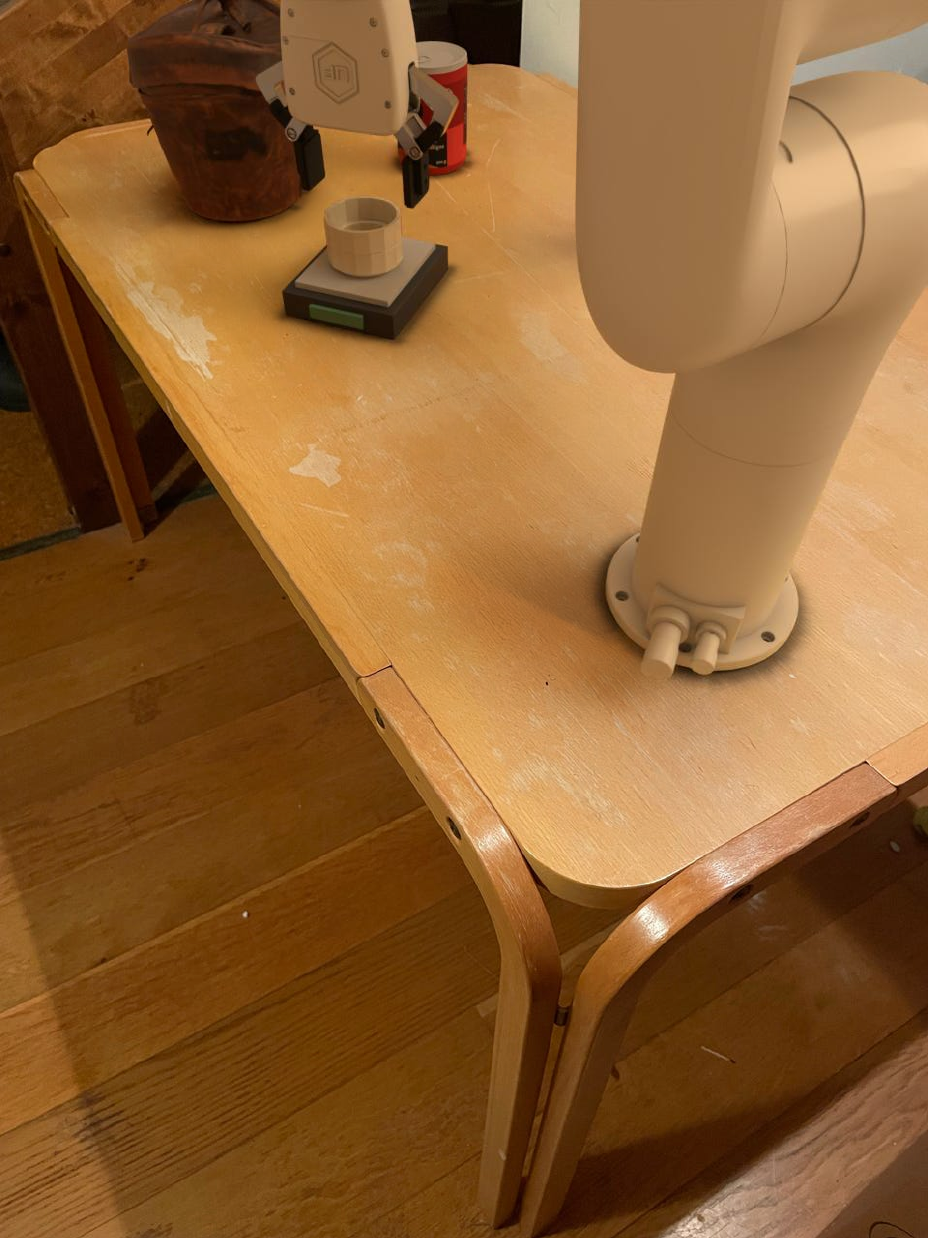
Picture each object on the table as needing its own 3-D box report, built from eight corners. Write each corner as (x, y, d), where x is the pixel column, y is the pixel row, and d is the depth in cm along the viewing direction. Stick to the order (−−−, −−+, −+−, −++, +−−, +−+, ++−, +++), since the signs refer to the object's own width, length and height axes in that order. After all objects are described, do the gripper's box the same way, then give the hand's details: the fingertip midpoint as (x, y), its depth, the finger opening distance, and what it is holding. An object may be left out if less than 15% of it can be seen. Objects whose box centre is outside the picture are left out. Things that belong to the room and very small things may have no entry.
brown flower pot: (278, 141, 106) (251, -42, 92) (360, 209, 95) (344, 14, 81) (133, 178, 99) (80, -12, 86) (203, 255, 89) (156, 52, 75)
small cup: (384, 286, 80) (381, 238, 76) (316, 272, 81) (310, 223, 78) (414, 250, 84) (412, 203, 80) (349, 237, 85) (344, 190, 82)
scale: (392, 342, 79) (390, 312, 77) (282, 317, 82) (277, 287, 80) (448, 269, 87) (448, 239, 85) (347, 248, 90) (344, 219, 88)
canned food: (384, 165, 102) (378, 56, 93) (426, 140, 106) (423, 35, 98) (439, 182, 99) (437, 73, 91) (479, 157, 103) (481, 49, 95)
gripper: (210, -46, 64) (254, 196, 77) (433, -24, 60) (440, 228, 73) (262, -71, 69) (295, 161, 82) (472, -52, 64) (473, 190, 77)
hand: (364, 192), depth 77 cm, fingers open, 9 cm apart
